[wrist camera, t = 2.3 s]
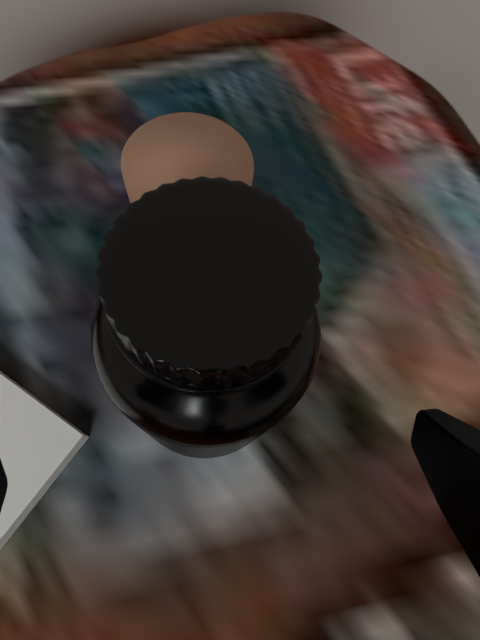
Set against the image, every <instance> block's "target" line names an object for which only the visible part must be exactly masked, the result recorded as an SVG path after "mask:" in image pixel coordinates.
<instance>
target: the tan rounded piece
mask: <svg viewBox="0 0 480 640" xmlns="http://www.w3.org/2000/svg"><path fill="white" fill-rule="evenodd" d="M121 171H122V176H123V180H124V183H125V187H126V191H127V194H128V198H129V201H130V203H132V202H134V201H137V200H139V199H140V198H141V196H142V195H143V194H144V193H145V192H148V191H152V190H156V189H157V188H158V187H159V186H160V185H162V184H166V183H174V182H176V181H177V180H179V179H181V178H184V179H194V178H197V177H200V176H204V177H208V178H216V177H223V178H226V179H228V180H231V181H236V180H237V181H242V182H244V183H246V184H247V185H249V186H252V181H253V175H254V160H253V155H252V152H251V150H250V148H249V146H248V144H247V142H246V141H245V139H244V138H243V137H242V136H241V135H240V134H239V133H238V132H237V131H236V130H235V129H234V128H233V127H231V126H230V125H228V124H227V123H225V122H223V121H221V120H219V119H217V118H214V117H211V116H208V115H204V114H199V113H190V112H179V113H171V114H166V115H162V116H159V117H157V118H154V119H152V120H150V121H148V122H146V123H145V124H143V125H142V126H140V127H139V128H138V129H137V130H136V131H135V132H134V133H133V134H132V135H131V136H130V138H129V139H128V140H127V142H126V144H125V146H124V148H123V152H122V155H121Z"/></svg>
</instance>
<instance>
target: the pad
mask: <svg viewBox="0 0 480 640" xmlns="http://www.w3.org/2000/svg"><path fill="white" fill-rule="evenodd" d="M88 438H89V436H88V435H86V434H85V433H84V432H82V431H81V430H79V429H78V428H77V427H75V426H74V425H73V424H71V423H70V422H69V421H67V420H66V419H65V418H63V417H62V416H61V415H59V414H58V413H57V412H55V411H54V410H53V409H51V408H50V407H48V406H47V405H46V404H44V403H43V402H42V401H40V400H39V399H38V398H36V397H35V396H34V395H32V394H31V393H30V392H28V391H27V390H26V389H24V388H23V387H21V386H20V385H19V384H17V383H16V382H15V381H13V380H12V379H11V378H9V377H8V376H7V375H5V374H4V373H3V372H1V371H0V459H1V462H2V465H3V467H4V470H5V473H6V476H7V481H8V487H7V492H6V496H5V499H4V502H3V506H2V509H1V513H0V550H1V549H2V547H3V546H4V545H5V543H6V542H7V541H8V540H9V538H10V537H11V536H12V535H13V533H14V532H15V531H16V529H17V528H18V527H19V526H20V524H21V523H22V522H23V521H24V519H25V518H26V517H27V516H28V514H29V513H30V512H31V510H32V509H33V508H34V507H35V505H36V504H37V503H38V502H39V500H40V499H41V498H42V496H43V495H44V494H45V493H46V491H47V490H48V489H49V488H50V486H51V485H52V484H53V482H54V481H55V480H56V479H57V477H58V476H59V475H60V474H61V472H62V471H63V470H64V469H65V467H66V466H67V465H68V463H69V462H70V461H71V460H72V458H73V457H74V456H75V455H76V453H77V452H78V451H79V449H80V448H81V447H82V446H83V444H84V443H85V442H86V441H87V439H88Z"/></svg>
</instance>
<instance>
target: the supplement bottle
mask: <svg viewBox="0 0 480 640" xmlns="http://www.w3.org/2000/svg"><path fill="white" fill-rule="evenodd" d="M104 241H105V245H104V246H103V247H102V248H101V250H100V251H99V253H98V258H99V263H100V265H99V267H98V269H97V272H96V278H97V280H98V283H99V285H100V287H99V293H98V295H99V298H98V301H97V303H96V307H95V310H94V314H93V320H92V327H91V346H92V354H93V360H94V363H95V367H96V370H97V373H98V375H99V378H100V380H101V382H102V384H103V386H104V388H105V390H106V391H107V393H108V394H109V396H110V397H111V399H112V400H113V402H114V403H115V404H116V406H117V407H118V408H119V409H120V410H121V411H122V413H123V414H125V415H126V416H127V417H128V418H129V419H130V420H131V421H132V422H133V423H134V424H136V425H137V426H138V427H140V428H141V429H142V430H143V431H145V432H146V433H147V434H148V435H150V436H151V437H152V438H153V439H155V440H156V441H157V442H159V443H160V444H161V445H163V446H165V447H166V448H168V449H170V450H172V451H174V452H176V453H179V454H181V455H185V456H189V457H195V458H214V457H220V456H224V455H227V454H230V453H232V452H235V451H237V450H239V449H241V448H243V447H244V446H246V445H247V444H249V443H250V442H252V441H253V440H255V439H256V438H257V437H259V436H260V435H262V434H263V433H265V432H266V431H268V430H269V429H270V428H272V427H273V426H275V425H276V424H277V423H278V422H279V421H281V420H282V419H283V418H284V417H285V416H286V415H287V414H288V413H289V412H290V411H291V410H292V409H293V408H294V407H295V405H296V404H297V403H298V402H299V400H300V399H301V398H302V396H303V395H304V393H305V391H306V390H307V388H308V386H309V384H310V382H311V380H312V378H313V375H314V373H315V370H316V367H317V363H318V359H319V353H320V346H321V328H320V320H319V315H318V311H317V307H316V304H317V303H318V301H319V299H320V290H319V285H320V283H321V281H322V274H321V271H320V269H319V267H318V266H319V262H320V257H319V255H318V254H317V252H316V251H315V250H314V240H313V239H312V238H311V236H309V235H308V234H307V233H306V229H305V225H304V223H303V222H301V221H300V220H298V219H297V218H296V217H295V215H294V213H293V211H292V209H290V208H288V207H287V206H285V205H283V204H282V203H281V202H280V201H279V199H278V198H277V197H275V196H272V195H269V194H266V193H265V192H264V191H263V190H262V189H261V188H260V187H255V186H249V185H247V184H246V183H244V182H242V181H237V180H236V181H231V180H228V179H226V178H223V177H216V178H208V177H204V176H200V177H197V178H194V179H184V178H181V179H179V180H177V181H176V182H174V183H166V184H162V185H160V186H159V187H158V188H157V189H156V190H152V191H148V192H145V193H144V194H143V195H142V196H141V198H140V199H139V200H137V201H134V202H132V203H130V204H129V205H128V206H127V208H126V211H125V212H124V213H123V214H121V215H119V216H118V217H117V218H115V221H114V225H113V228H112V229H110V230H109V231H108V232H107V233H106V234H105V239H104Z"/></svg>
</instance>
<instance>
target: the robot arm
mask: <svg viewBox="0 0 480 640" xmlns="http://www.w3.org/2000/svg"><path fill="white" fill-rule="evenodd" d="M411 445H412V448H413V451H414V453H415V455H416V457H417V460H418V462H419V464H420V466H421V468H422V470H423V473H424V475H425V477H426V479H427V481H428V483H429V486H430V488H431V490H432V492H433V494H434V496H435V499H436V501H437V503H438V505H439V507H440V509H441V511H442V513H443V514H444V516H445V518H446V520H447V522H448V523H449V525H450V527H451V529H452V530H453V532H454V534H455V535H456V537H457V539H458V541H459V542H460V544H461V546H462V547H463V549H464V551H465V553H466V554H467V556H468V558H469V559H470V561H471V563H472V565H473V566H474V568H475V570H476V571H477V573H478V575H479V576H480V430H479V429H477V428H475V427H473V426H471V425H469V424H467V423H465V422H463V421H461V420H459V419H457V418H455V417H453V416H451V415H449V414H447V413H445V412H443V411H441V410H438V409H427V410H420V411H419V412H418V413H417V415H416V419H415V423H414V428H413V432H412V436H411ZM7 487H8V481H7V476H6V473H5V470H4V467H3V465H2V462H1V459H0V513H1V509H2V506H3V502H4V499H5V496H6V492H7Z"/></svg>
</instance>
